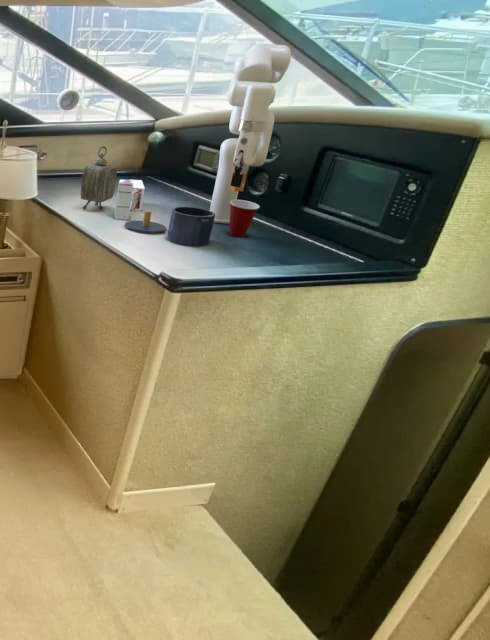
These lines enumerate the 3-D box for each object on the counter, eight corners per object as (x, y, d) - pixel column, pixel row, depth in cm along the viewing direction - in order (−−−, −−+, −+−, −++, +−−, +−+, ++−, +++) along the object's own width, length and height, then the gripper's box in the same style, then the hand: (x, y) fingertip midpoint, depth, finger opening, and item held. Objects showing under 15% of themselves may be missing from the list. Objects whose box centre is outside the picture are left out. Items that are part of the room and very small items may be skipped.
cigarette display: (126, 200, 272) (129, 179, 267) (138, 201, 271) (141, 180, 267) (128, 210, 254) (131, 188, 250) (141, 211, 254) (145, 189, 249)
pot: (194, 233, 227) (200, 205, 222) (219, 248, 210) (226, 218, 205) (158, 232, 225) (163, 204, 220) (180, 248, 207) (186, 218, 202)
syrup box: (128, 220, 240) (134, 182, 233) (113, 218, 240) (119, 181, 234) (128, 217, 245) (134, 180, 238) (114, 215, 245) (119, 178, 238)
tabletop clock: (94, 204, 262) (102, 143, 250) (113, 208, 257) (121, 146, 245) (78, 209, 251) (85, 146, 239) (97, 213, 247) (105, 149, 235)
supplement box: (229, 189, 203) (236, 158, 198) (239, 189, 203) (246, 158, 199) (233, 191, 200) (240, 160, 195) (243, 191, 200) (250, 160, 196)
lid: (156, 223, 237) (159, 206, 234) (172, 234, 224) (175, 216, 221) (119, 223, 235) (121, 206, 232) (133, 234, 221) (135, 216, 218)
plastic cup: (238, 239, 222) (246, 207, 216) (216, 232, 230) (223, 200, 224) (258, 237, 226) (266, 205, 221) (236, 230, 235) (244, 198, 229)
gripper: (256, 130, 184) (241, 191, 193) (269, 126, 196) (255, 183, 205) (231, 127, 188) (218, 187, 197) (246, 123, 200) (233, 180, 209)
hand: (237, 184), depth 201 cm, fingers closed on supplement box, 4 cm apart
